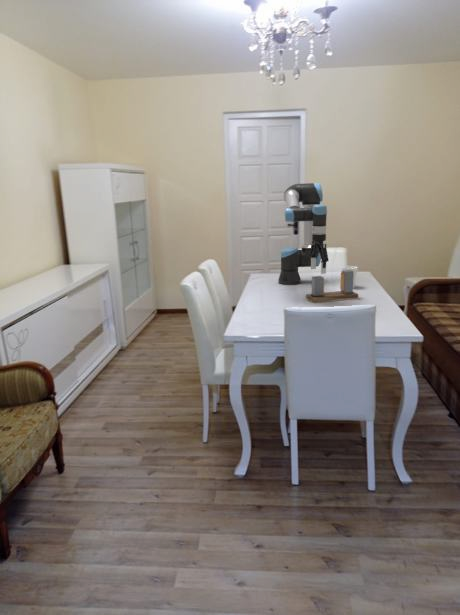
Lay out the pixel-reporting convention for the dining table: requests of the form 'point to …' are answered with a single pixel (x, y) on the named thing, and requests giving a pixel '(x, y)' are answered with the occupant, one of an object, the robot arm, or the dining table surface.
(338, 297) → the rail
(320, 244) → the robot arm
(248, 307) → the dining table surface
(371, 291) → the dining table surface
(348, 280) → the mounted finger
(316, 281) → the gray and orange block
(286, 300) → the dining table surface
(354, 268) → the foam cup
